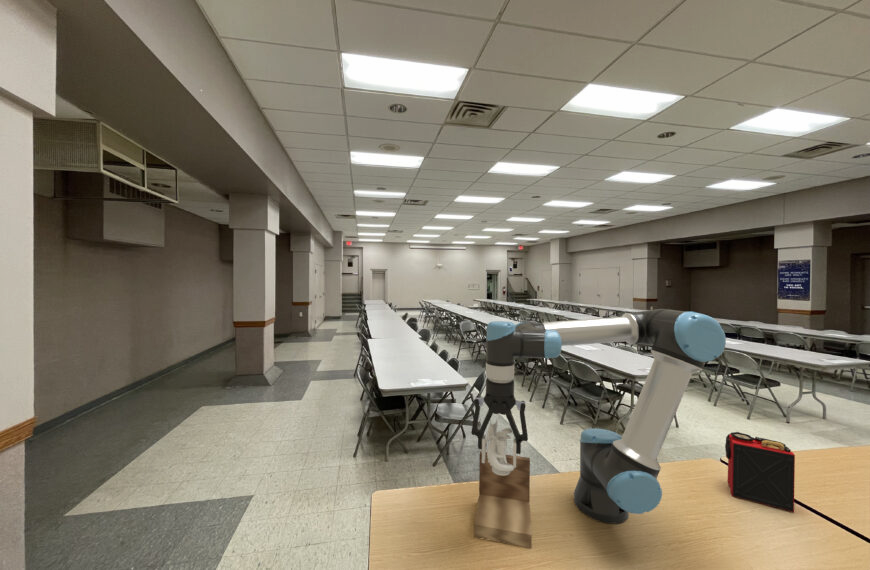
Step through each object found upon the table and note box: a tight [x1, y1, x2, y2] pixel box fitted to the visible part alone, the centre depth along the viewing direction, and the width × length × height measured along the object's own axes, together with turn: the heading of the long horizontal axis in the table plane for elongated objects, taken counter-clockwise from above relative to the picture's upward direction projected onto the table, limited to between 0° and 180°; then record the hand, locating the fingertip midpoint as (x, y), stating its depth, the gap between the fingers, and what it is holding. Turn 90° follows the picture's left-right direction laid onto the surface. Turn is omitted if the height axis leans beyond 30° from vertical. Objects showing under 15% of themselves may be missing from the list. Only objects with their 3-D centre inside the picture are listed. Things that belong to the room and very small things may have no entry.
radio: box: [724, 431, 796, 513], centre depth 108 cm, size 16×10×20 cm, turn 58°
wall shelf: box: [473, 451, 533, 549], centre depth 95 cm, size 15×15×16 cm
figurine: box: [484, 418, 514, 476], centre depth 90 cm, size 11×8×12 cm
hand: (498, 462), depth 90 cm, fingers closed on figurine, 8 cm apart
